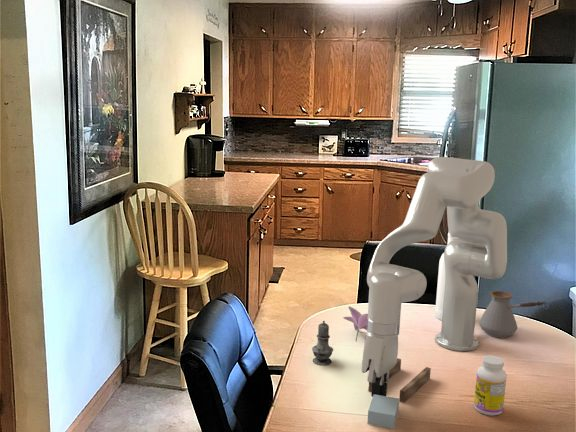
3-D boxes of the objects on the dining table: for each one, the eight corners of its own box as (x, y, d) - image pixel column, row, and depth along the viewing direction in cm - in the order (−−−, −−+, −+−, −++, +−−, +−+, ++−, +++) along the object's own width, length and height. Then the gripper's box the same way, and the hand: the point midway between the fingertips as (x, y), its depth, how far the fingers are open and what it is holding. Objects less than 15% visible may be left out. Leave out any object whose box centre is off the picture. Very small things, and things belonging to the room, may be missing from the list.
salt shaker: (331, 367, 163) (333, 325, 161) (310, 364, 165) (311, 323, 162) (334, 357, 169) (335, 317, 167) (313, 355, 170) (314, 315, 168)
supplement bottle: (469, 402, 147) (474, 353, 144) (495, 402, 147) (500, 353, 145) (480, 417, 140) (485, 366, 137) (507, 416, 141) (513, 365, 138)
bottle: (457, 323, 196) (466, 234, 190) (433, 319, 199) (440, 231, 193) (460, 315, 204) (467, 229, 197) (436, 311, 206) (443, 226, 200)
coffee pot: (470, 330, 191) (474, 285, 188) (493, 323, 197) (498, 279, 194) (529, 355, 174) (535, 306, 171) (553, 347, 180) (559, 299, 177)
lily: (386, 347, 180) (390, 315, 182) (357, 338, 174) (362, 306, 176) (359, 345, 189) (364, 314, 192) (331, 337, 183) (336, 306, 186)
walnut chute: (396, 368, 164) (397, 358, 163) (429, 378, 158) (430, 368, 158) (368, 391, 151) (369, 380, 150) (403, 403, 145) (404, 391, 145)
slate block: (372, 407, 144) (373, 394, 143) (398, 412, 142) (399, 398, 141) (367, 424, 136) (368, 410, 135) (393, 429, 135) (394, 415, 134)
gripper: (383, 313, 149) (379, 381, 153) (353, 331, 137) (349, 405, 141) (411, 320, 145) (406, 390, 149) (383, 340, 133) (378, 415, 137)
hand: (378, 397), depth 145 cm, fingers closed
